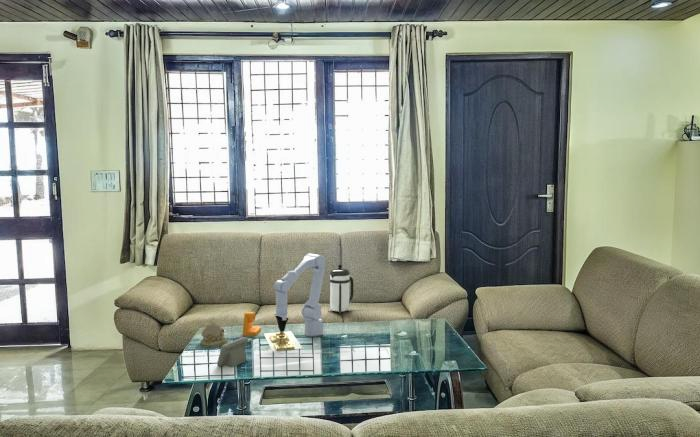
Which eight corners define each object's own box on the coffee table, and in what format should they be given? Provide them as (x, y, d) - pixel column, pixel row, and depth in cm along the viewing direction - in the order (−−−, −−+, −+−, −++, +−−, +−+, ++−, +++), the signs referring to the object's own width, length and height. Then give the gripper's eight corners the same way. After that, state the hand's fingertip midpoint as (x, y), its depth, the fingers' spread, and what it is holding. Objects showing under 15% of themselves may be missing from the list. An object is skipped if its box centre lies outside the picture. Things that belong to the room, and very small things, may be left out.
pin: (283, 332, 264) (283, 321, 263) (284, 334, 261) (284, 322, 261) (279, 333, 263) (278, 321, 263) (279, 334, 261) (279, 322, 260)
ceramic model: (196, 344, 262) (195, 325, 261) (206, 337, 273) (206, 319, 272) (221, 347, 259) (221, 327, 258) (231, 340, 270) (231, 321, 269)
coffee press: (353, 315, 317) (353, 267, 314) (327, 314, 317) (327, 266, 314) (353, 307, 334) (353, 261, 331) (328, 307, 334) (328, 261, 331)
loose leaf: (286, 335, 274) (286, 328, 274) (289, 340, 267) (289, 332, 267) (269, 337, 271) (269, 329, 271) (272, 342, 264) (271, 334, 264)
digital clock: (242, 355, 247) (242, 334, 246) (253, 360, 241) (253, 338, 240) (212, 365, 235) (212, 342, 234) (223, 370, 229) (223, 347, 228)
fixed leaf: (289, 340, 267) (289, 334, 266) (294, 348, 255) (294, 341, 255) (272, 342, 264) (272, 335, 264) (276, 350, 252) (276, 343, 252)
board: (291, 332, 282) (291, 331, 282) (302, 349, 256) (302, 348, 256) (263, 335, 278) (263, 333, 278) (272, 352, 251) (272, 351, 251)
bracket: (256, 337, 274) (255, 315, 273) (242, 336, 275) (242, 314, 274) (261, 331, 285) (261, 309, 284) (248, 330, 286) (248, 309, 284)
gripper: (271, 301, 266) (271, 326, 268) (276, 308, 253) (276, 335, 254) (284, 300, 269) (284, 325, 270) (290, 307, 255) (290, 334, 256)
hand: (281, 330), depth 262 cm, fingers closed on pin, 2 cm apart
